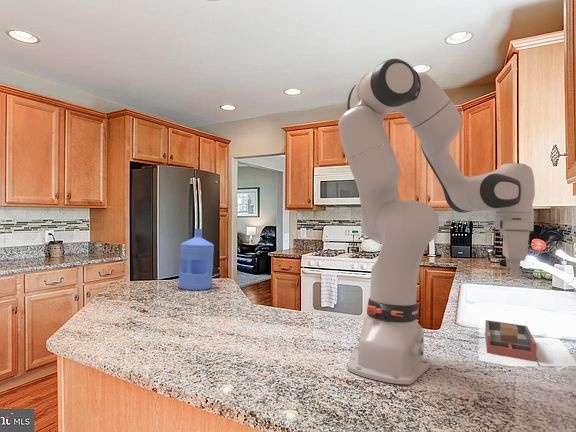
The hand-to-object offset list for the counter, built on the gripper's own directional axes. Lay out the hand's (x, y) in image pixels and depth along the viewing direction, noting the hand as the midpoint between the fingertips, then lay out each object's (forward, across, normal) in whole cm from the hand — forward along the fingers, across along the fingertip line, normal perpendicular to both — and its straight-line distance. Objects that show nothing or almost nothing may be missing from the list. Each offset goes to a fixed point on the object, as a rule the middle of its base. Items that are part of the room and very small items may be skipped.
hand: (512, 275), depth 97 cm
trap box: (+21, -8, 0) cm, 22 cm away
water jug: (+22, -20, -127) cm, 130 cm away
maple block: (+19, -7, 0) cm, 20 cm away
